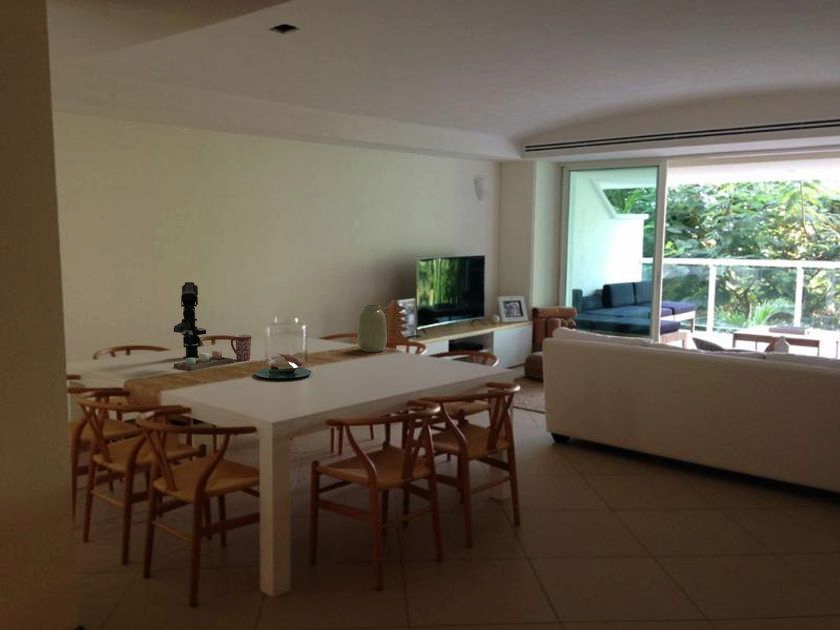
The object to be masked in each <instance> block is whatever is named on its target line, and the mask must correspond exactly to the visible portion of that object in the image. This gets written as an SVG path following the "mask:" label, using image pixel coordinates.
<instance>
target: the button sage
mask: <svg viewBox="0 0 840 630" xmlns="http://www.w3.org/2000/svg"><path fill="white" fill-rule="evenodd" d="M196 359H197V358H185V361H184V362H186V365H194V364H196Z"/></svg>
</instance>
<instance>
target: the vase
mask: <svg viewBox="0 0 840 630" xmlns="http://www.w3.org/2000/svg"><path fill="white" fill-rule="evenodd" d="M381 308H382V307H381V305H380V304H365V305H364V309H363V310H362V311H361V313H360V315H359V320H358V326H357V327H358V329H357V330H358V331H357V343H358V347H359V349H360V351H362V352H364V353H365V352H366V353H379V352H383V351H384V350H385V348H386V347H387V342H388V340H387V338H388V337H387V336H388V331H387V329H388V328H387V318H386V315H385V312H384V311H383V310H382V309H381Z"/></svg>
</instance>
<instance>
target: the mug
mask: <svg viewBox="0 0 840 630" xmlns="http://www.w3.org/2000/svg"><path fill="white" fill-rule="evenodd" d="M234 340H235V346H234ZM251 345H252V335H251V334H237V335H234V337H232V338H231V340H230V347H231V349H232V350H233V352H234V354H235V356H236V357H235V358H236V361H238V362H239V361H240V362H248V361H251V349H252V348H251V347H252V346H251Z"/></svg>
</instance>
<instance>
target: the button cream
mask: <svg viewBox="0 0 840 630" xmlns="http://www.w3.org/2000/svg"><path fill="white" fill-rule="evenodd" d="M198 356H199V357H198V359H199V362H208V361H209V357H210V353H209V352H202V353H198Z"/></svg>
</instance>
